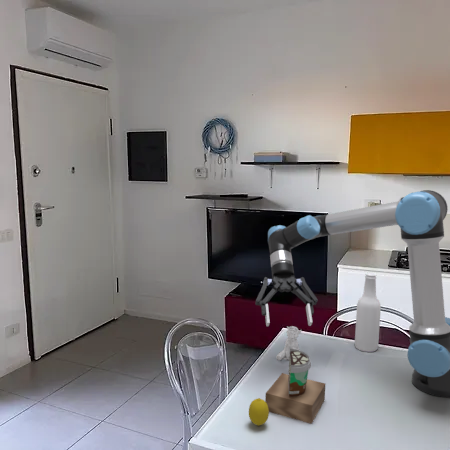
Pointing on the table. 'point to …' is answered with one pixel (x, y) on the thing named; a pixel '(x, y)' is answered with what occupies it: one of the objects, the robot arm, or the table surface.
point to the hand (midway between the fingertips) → (289, 324)
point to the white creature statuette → (289, 343)
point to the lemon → (258, 411)
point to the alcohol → (368, 317)
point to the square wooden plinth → (295, 399)
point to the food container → (298, 372)
